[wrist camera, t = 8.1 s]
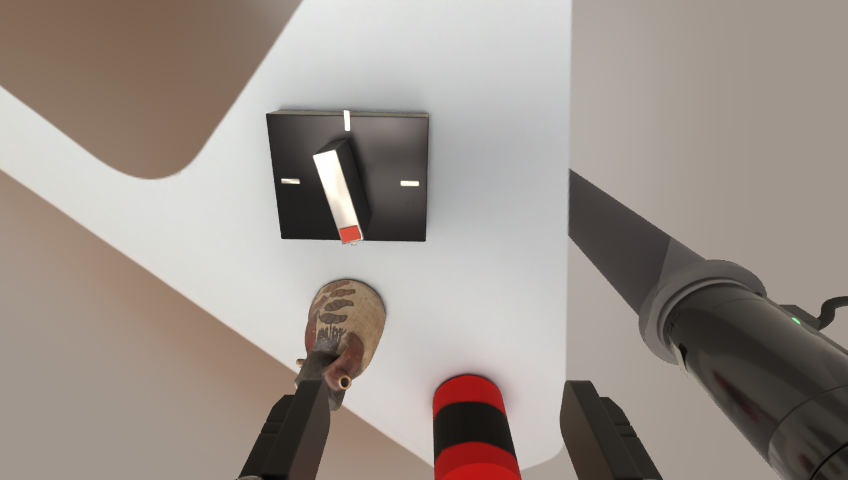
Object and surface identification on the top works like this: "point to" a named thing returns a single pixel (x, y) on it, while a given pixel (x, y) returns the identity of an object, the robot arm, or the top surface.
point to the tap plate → (376, 164)
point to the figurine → (341, 336)
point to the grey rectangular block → (343, 190)
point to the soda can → (472, 432)
